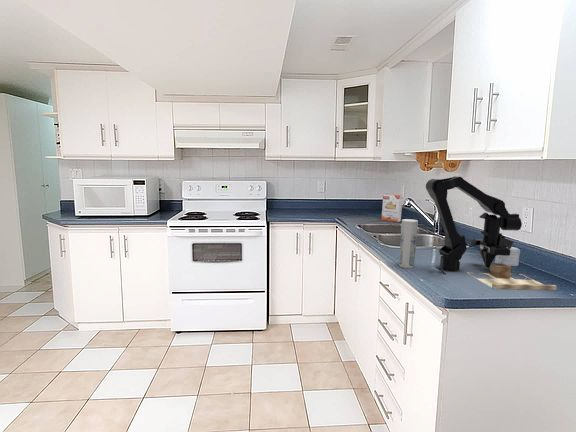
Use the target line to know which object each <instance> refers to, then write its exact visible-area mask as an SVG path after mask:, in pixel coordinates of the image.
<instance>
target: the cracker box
mask: <svg viewBox="0 0 576 432" xmlns="http://www.w3.org/2000/svg"><path fill="white" fill-rule="evenodd" d="M403 197H404V196H403V195H401V194H388V193H384V194H383V196H382V205H381V206H382V209H381V221H387V222H393V221H394V223H399V222H402V210H403Z"/></svg>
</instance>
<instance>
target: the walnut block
mask: <svg viewBox="0 0 576 432" xmlns="http://www.w3.org/2000/svg"><path fill="white" fill-rule="evenodd" d="M511 271H512V266H508V265H506V264H502V263H495V262H494V263H493V262H492V263H491V265H490V267H489V273H490V275H492V276H494V277H496V278H509V279H510V277H511V274H512V272H511Z"/></svg>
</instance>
